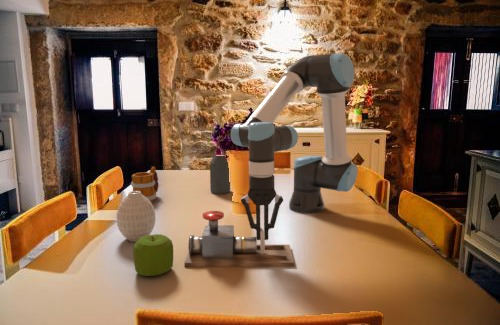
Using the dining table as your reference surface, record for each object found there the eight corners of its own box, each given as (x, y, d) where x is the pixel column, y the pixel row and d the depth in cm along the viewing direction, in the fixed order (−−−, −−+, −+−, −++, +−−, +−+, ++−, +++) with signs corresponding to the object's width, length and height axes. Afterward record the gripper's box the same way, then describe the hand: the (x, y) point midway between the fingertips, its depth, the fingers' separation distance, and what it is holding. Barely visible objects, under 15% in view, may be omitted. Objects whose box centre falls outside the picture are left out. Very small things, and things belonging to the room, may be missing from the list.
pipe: (256, 249, 116) (256, 233, 115) (256, 256, 111) (256, 240, 110) (224, 249, 116) (224, 233, 115) (223, 256, 111) (223, 240, 110)
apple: (153, 285, 97) (151, 246, 95) (125, 274, 102) (123, 237, 100) (182, 268, 106) (180, 232, 104) (155, 259, 111) (153, 225, 109)
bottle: (233, 192, 186) (233, 133, 181) (217, 195, 181) (216, 135, 175) (223, 188, 195) (223, 132, 189) (207, 191, 189) (206, 133, 184)
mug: (126, 203, 169) (124, 171, 166) (148, 194, 184) (147, 164, 181) (145, 205, 165) (144, 173, 162) (167, 196, 180) (165, 166, 177)
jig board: (289, 248, 120) (289, 241, 119) (294, 266, 107) (294, 259, 107) (191, 248, 120) (191, 241, 119) (184, 266, 107) (184, 259, 107)
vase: (121, 248, 119) (117, 199, 116) (115, 235, 130) (112, 190, 127) (160, 241, 125) (158, 194, 122) (152, 229, 136) (149, 185, 133)
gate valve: (234, 247, 117) (233, 209, 115) (232, 260, 109) (232, 219, 106) (192, 247, 117) (191, 209, 115) (188, 260, 109) (186, 219, 106)
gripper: (282, 171, 112) (282, 244, 117) (240, 172, 112) (241, 244, 117) (284, 177, 105) (284, 254, 109) (239, 177, 105) (241, 255, 109)
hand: (262, 249), depth 113 cm, fingers closed
